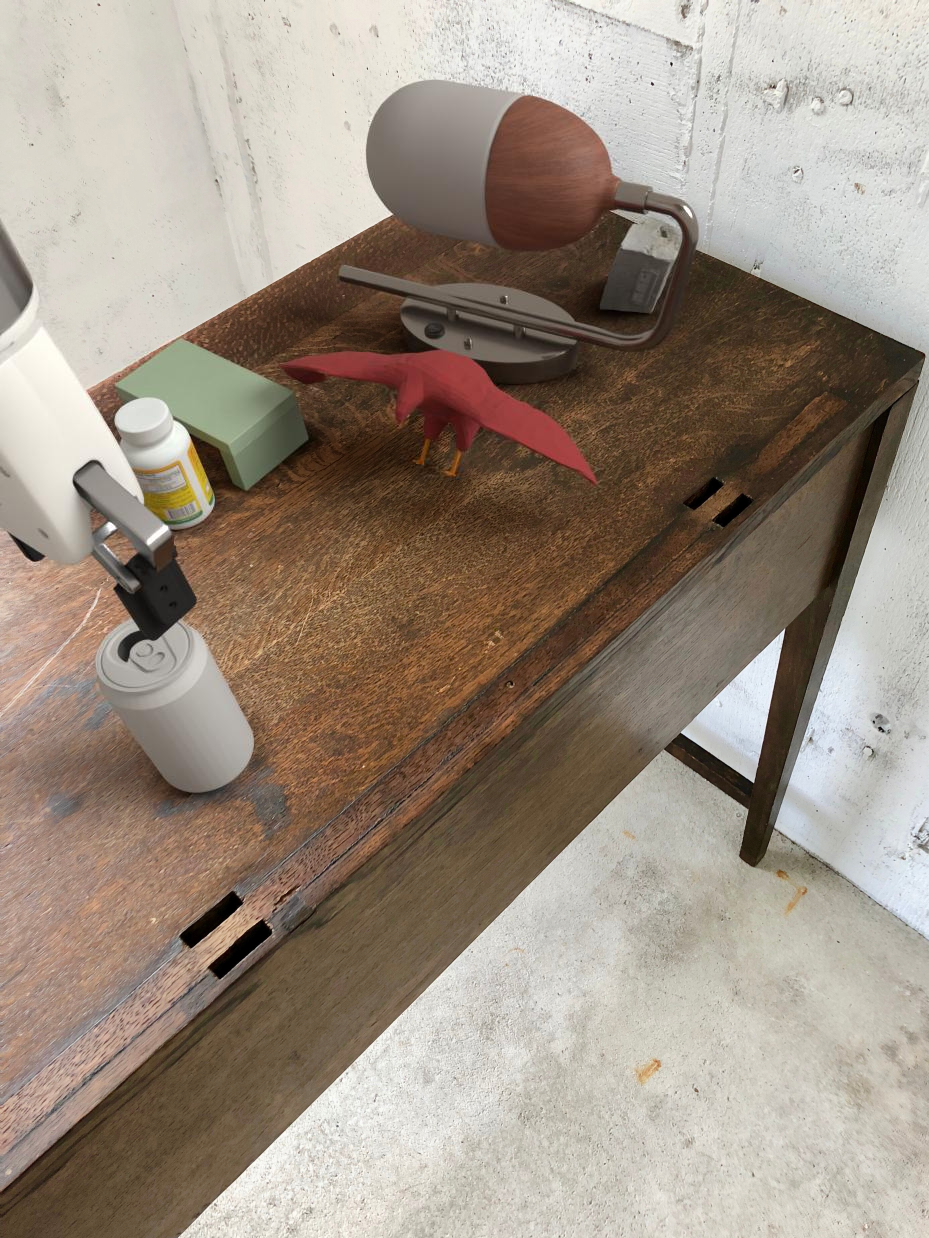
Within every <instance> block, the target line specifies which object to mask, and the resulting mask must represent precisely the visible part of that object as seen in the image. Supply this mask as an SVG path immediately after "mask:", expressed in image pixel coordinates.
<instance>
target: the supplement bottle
mask: <svg viewBox="0 0 929 1238" xmlns="http://www.w3.org/2000/svg"><path fill="white" fill-rule="evenodd" d="M113 422H114V425H115V428H116V430H117V432H118V434H119V436H120V438H121V439H120V442H119V446H120V448H121V450H122V451H123V453H124V455H125V457H126V459H127V461H128V463H129V465H130V466H131V468H132V470H133V472H134V474H135V477H136V479H137V481H138V483H139V485H140V488H141V490H142V493H143V497H144V506H145V507H146V508H148V509H149V510H150V511H151V512H152V513H153V514H154V515H155V516H157V517H158V518H159V519H160V520H161V521H162V522H163V523H165V524H166V525H167V526H168V528H169V529H170V530H174V531H175V530H177V531H178V530H185V529H189V528H192V527H194V526H197V525H199V524H200V523H202V522H203V521H204V520H205V519H207V518H208V517H209V516H210V514H211V513H212V512H213V509H214V508H215V502H216V500H215V499H216V497H215V494H214V491H213V488H212V486H211V484H210V481H209V478H208V476H207V474H206V471H205V469H204V467H203V465H202V462H201V459H200V457H199V455H198V453H197V449H196V448H195V445H194V442H193V440H192V438H191V436H190V435H191V434H190V433H188V431H187V430H186V428H185V427H184V426H183V425H181V424H180V423H179V422H177V421H175V420H173V417H172V415H171V413H170V411H169V409H168V407H167V405H166V404H165V403H164V402H163V401H162V400H159V399H156V398H139V399H136V400H133V401H130V402H129V403H127V404H125V405H124V404H123V405H122V406H121V407H120V408H119V409H118V410H117V411H116V412H115V415H114V420H113Z"/></svg>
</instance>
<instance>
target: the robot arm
mask: <svg viewBox="0 0 929 1238" xmlns="http://www.w3.org/2000/svg"><path fill="white" fill-rule="evenodd" d="M40 306H41V292H40V290H39V287H38V286H37V284H36V282H35V280H34V277H33V276H32V274H31V273H30V271H29V269H28V267H27V265H26V263H25V262H24V259H23V258H22V256H21V254H20V252H19V250H18V249H17V247H16V244H15V243H14V241H13V239H12V237H11V235H10V233H9V232H8V230H7V228H6V225H5V224H4V222H3V220H2V218H1V217H0V528H1V529H3V530H4V531H6V532H7V534H8V535H9V537H10V538H11V539H12V541H13V542H14V543H15V545H16V546H17V548H18V549H19V550H20V552H21V553H22V555H23V556H24V557H25V558H26V559H27V560H29V561H31V562H33V563H38V562H41V561H42V560H44V559H45V558H47V559H50V560H52V561H54V562H56V563H58V564H62V565H69V566H77V565H79V564H80V563H82V560H84V559H85V558H86V557H88V556H89V555H91V556H92V557H93V558H94V559H95V560H96V561H97V563H99V565H100V566H101V567H102V568H104V571H106V572H107V573H108V575H110V576H111V577H112V578H113V579H114V580H115V581H116V582H117V583H116V584H115V586H113V587H112V590H113V591H114V592H115V594H116V596H117V598H118V599H119V600H120V602H121V604H122V605H123V606H124V608H125V610H126V611H127V613H128V614H129V616H130V617H131V618H132V619H133V620H134V622H135V623H136V625H137V627H138V628H139V630H140V631H141V633H142V634H143V636H145V637H146V638H148V639H149V640H151V641H155V640H157V639H159V638H160V637H161V636H162V635H163V634H164V633H165V632H166V631H168V630H169V629H170V628H171V627H172V626H173V625H174V624H175V623H176V622H178V621H179V620H180V619H182V618H183V617H184V616H186V615H187V614H188V613H189V612H190V611H191V610H192V609H193V608H194V607H195V606H196V605H197V602H198V599H197V598H198V597H197V596H196V594H195V592H194V590H193V589H192V587H191V584H190V583H189V581H188V579H187V577H186V575H185V574H184V572H183V570H182V568H181V566H180V564H179V563H178V561H177V558H178V556H179V553H178V550H177V545H175V535H174V533H173V531H172V529H169V528H168V526H167V525H166V524H165V523H163V522H162V521H161V520H160V519H159V518H158V517H157V516H155V515H154V514H153V513H152V512H151V511H150V510H149V509H148V508H147V507H146V505H145V503H144V497H143V493H142V490H141V488H140V485H139V483H138V481H137V479H136V477H135V474H134V472H133V470H132V468H131V466H130V465H129V463H128V461H127V459H126V457H125V455H124V453H123V451H122V450H121V448H120V443H118V440H117V439H116V438H115V437H116V436H114V434H113V432H112V430H111V429H110V427H109V426H108V423H107V422H106V420H105V419H104V417H103V416H102V413H101V412H100V411H99V409H98V408H97V406H96V404H95V403H94V401H93V399H92V397H91V396H90V394H89V393H88V392H87V390H86V388H85V387H84V385H83V383H82V382H81V381H80V379H79V377H78V375H77V374H76V373H75V371H74V369H73V368H72V366H71V365H70V363H69V361H68V360H67V358H66V357H65V356H64V354H63V353H62V351H61V349H60V348H59V347H58V345H57V344H56V342H55V341H54V340H53V338H52V337H51V335H50V334H49V332H48V331H47V329H46V328H45V326H44V325H43V323H42V322H41V320H40V319H39V318H38V317H37V315H38V313H39V309H40ZM94 510H95V511H97V512H98V513H99V514H100V515H101V516H102V517H104V519H106V520H105V521H104V522H103V523H102V524H100V525H99V526H98V527H97V528H96V529H94V530H93V527H92V520H91V519H92V518H91V513H92V512H93V511H94ZM117 531H119V532H121V533H122V534H123V535H124V536H125V537H126V538H127V540H128V541H129V542H130V543H131V545H132V548H133V551H134V552H136V553H135V554H134V555H133V556H132V557H131V558H130V559H129V560H128V561H127V562H126V563H124V562H123V561H122V560H121V559H120V558H119V557H118V556H117V554H115V553H114V552H113V551H112V550H111V549H110V547H108V545H107V544H106V543H105V541H107V540H108V539H109V538H110V537H111V536H112V535H114V534H115V533H117Z"/></svg>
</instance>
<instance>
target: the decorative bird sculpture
mask: <svg viewBox="0 0 929 1238" xmlns="http://www.w3.org/2000/svg"><path fill="white" fill-rule="evenodd" d="M278 367H279V368H280V369H281V370H282V371H284V373H285V374H286V376H289V377H290V378H291V379H293V380H295V381H297V382H299V383H301V384H303V385H306V386H307V385H313V384H316V383H323V382H327V381H329V378H328V377H334V378H340V379H344V380H349V381H364V382H368V383H372V384H373V383H374V384H381V385H385V386H387V387H390V388H392V389H394V390H395V391H397V392H398V393H397V399H396V404H395V407H394V417H395V421H396V422H397V424H398V426H399V427H402V425H403V424H404V422H405V421H406V419H407V417H409V415H410V414H411V413H412V412H413V411H414V410H416V409H417V410H419V411H421V412H423V423H422V433H423V436H424V438H425V441H424V444H423V448H422V451H421V455H420V457H419V459H412V460H411V461H410V463H412V462H413V463H414V465H422V467H423V468H424V469H426V463H425V459H426V457H427V453H428V449H429V446H430V443H431V442H435V441H437V440H438V439H439V438H440V436H441V435H442V432H443V431H444V430H445V427H446V426H447V425H449V424H450V425H451V427H452V428H453V429H454V432H455V433H456V438H455V446H456V452H455V455H454V460H453V461H452V465H451V468H450V471H446V470H443V471H442V472H441V473H440V474H445V476H446V477H448V476H452V477H453V478H454V479H455V480H457V475H456V470H457V468H458V465H459V464H458V463H459V460H460V458H461V455H462V453H464V452H466V451H468V450H469V449H470V448H471V446H472V445H473V442H474V439H475V437H476V435H477V433H478V431H479V429H480V428H482V429H484V430H485V431H489V432H492V433H495V434H497V435H500V436H502V437H504V438H506V439H509V440H511V441H513V442H514V443H517V444H518V445H520V446H521V447H523V448H525V449H527V450H529V451H531V452H535V453H536V454H539V455H541V456H543V457H544V458H546V459H548V460H549V461H552V462H554V463H556V464H558V465H560V466H561V467H565V468H567V469H569V470H571V471H573V472H574V473H575V472H576V473H577V474H579V475H581V476H582V477H583V478H585V479H586V481H588V482H589V483H591V484H592V485H594V486H595V487H598V486H599V484H598V481H597V478H596V476H595V475H594V472H593V471H592V469H591V467H590V465H589V463H588V461H587V460H586V459H585V457H584V456H583V454H582V453H581V451H580V450H579V448H578V447H577V446H576V443H575V442H574V440H573V439H572V438H571V437H570V436H569V434H568V432H567V431H566V430H565V429H564V428H563V427H562V426H561V425H560V423H558V422H556V421H555V419H553V418H552V417H551V416H550V415H548V414H546V413H545V412H543V411H541V410H539V409H538V408H534V407H532V406H531V405H530V404H529V403H527V402H525V401H521V400H519V399H516V398H514V397H512V395H510V394H509V393H507V392H505V391H503V390H501V389H499V388H498V386H496V385H495V383H493V382H492V381H491V379H490V378H489V377H488V375H487V373H486V372H485V370H484V369H483V368H482V367H481V366H479V365H478V364H477V363H476V362H475V361H474V360H472V359H471V358H470V357H468V356H462V355H460V354H457V353H455V352H451V351H446V350H433V351H427V352H421V353H414V352H405V353H397V354H396V353H392V354H382V353H375V352H371V351H363V352H361V351H351V350H344V351H336V352H329V353H328V352H327V353H321V354H318V355H307V356H306V355H305V356H302V357H298V358H294V359H292V360H289V361H287V362H285V363H281V364H279V366H278Z"/></svg>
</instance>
